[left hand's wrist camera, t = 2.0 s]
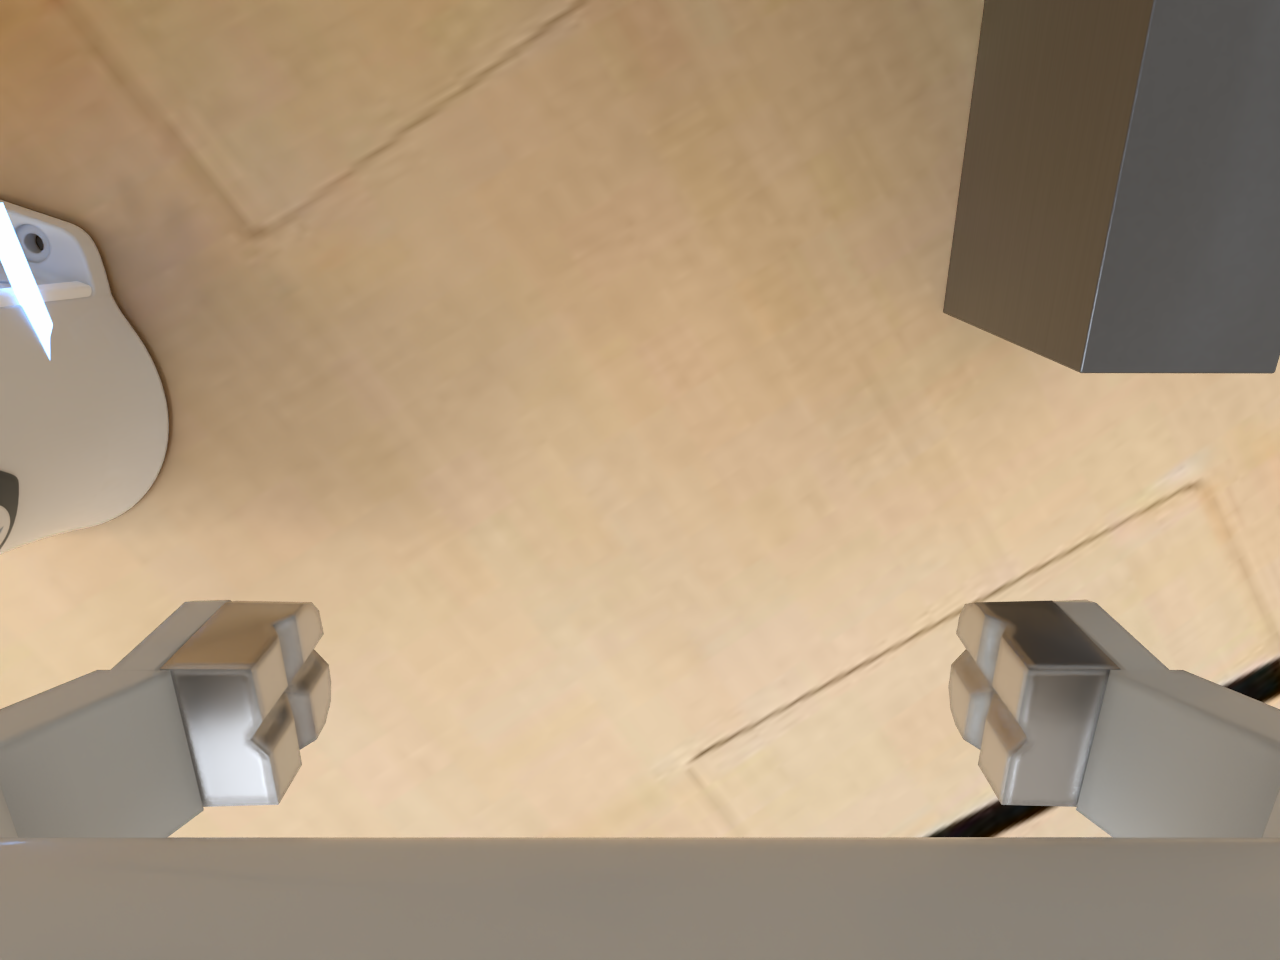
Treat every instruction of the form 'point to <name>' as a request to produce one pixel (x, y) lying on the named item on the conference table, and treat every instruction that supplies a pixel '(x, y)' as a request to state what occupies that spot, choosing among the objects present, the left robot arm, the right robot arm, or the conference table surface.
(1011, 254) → the box
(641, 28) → the conference table surface
